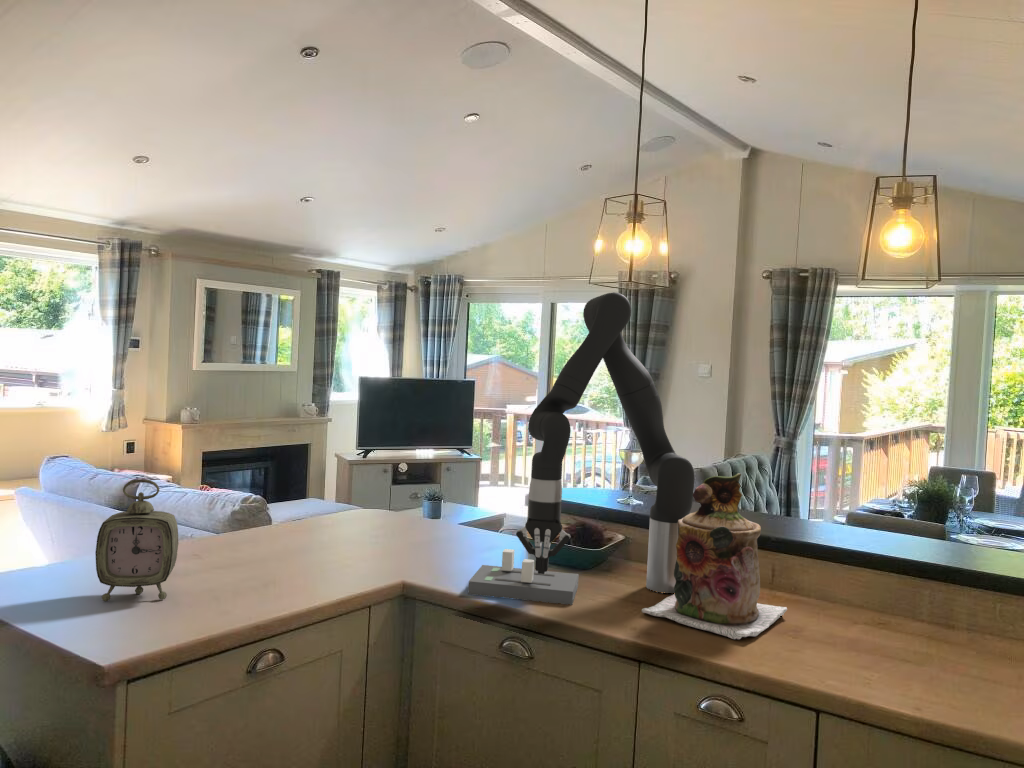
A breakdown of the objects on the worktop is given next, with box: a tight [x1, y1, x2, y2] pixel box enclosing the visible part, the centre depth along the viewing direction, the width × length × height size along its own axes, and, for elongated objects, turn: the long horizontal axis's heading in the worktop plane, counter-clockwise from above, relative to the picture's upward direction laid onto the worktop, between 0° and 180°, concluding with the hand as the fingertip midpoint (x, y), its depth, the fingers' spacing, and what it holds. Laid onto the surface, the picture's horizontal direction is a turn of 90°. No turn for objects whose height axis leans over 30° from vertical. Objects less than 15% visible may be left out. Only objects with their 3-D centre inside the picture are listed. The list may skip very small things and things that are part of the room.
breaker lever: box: [501, 548, 515, 571], centre depth 181 cm, size 2×3×4 cm
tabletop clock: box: [95, 478, 179, 602], centre depth 157 cm, size 14×9×25 cm, turn 105°
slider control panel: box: [467, 564, 580, 606], centre depth 176 cm, size 24×15×3 cm, turn 80°
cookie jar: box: [641, 473, 788, 640], centre depth 164 cm, size 25×25×32 cm
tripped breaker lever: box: [521, 558, 535, 583], centre depth 172 cm, size 2×3×4 cm
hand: (541, 572), depth 171 cm, fingers closed
